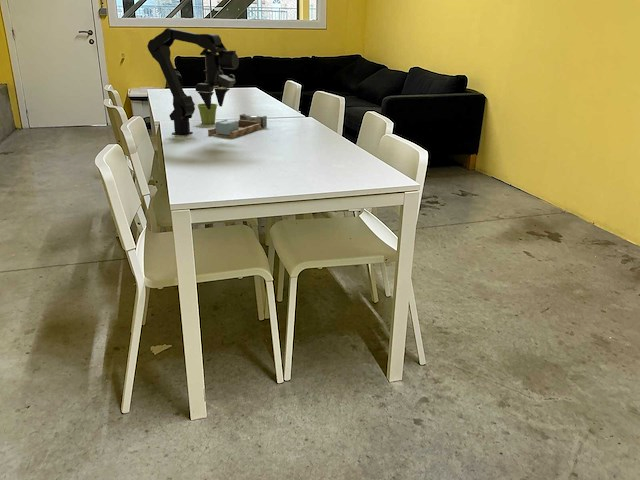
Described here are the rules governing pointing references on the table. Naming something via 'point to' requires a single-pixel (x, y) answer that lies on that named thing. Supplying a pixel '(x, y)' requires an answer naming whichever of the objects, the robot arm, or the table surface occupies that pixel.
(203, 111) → the plant pot
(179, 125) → the robot arm
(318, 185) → the table surface
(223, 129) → the grey box
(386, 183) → the table surface
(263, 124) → the winch drum
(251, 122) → the brown tray
